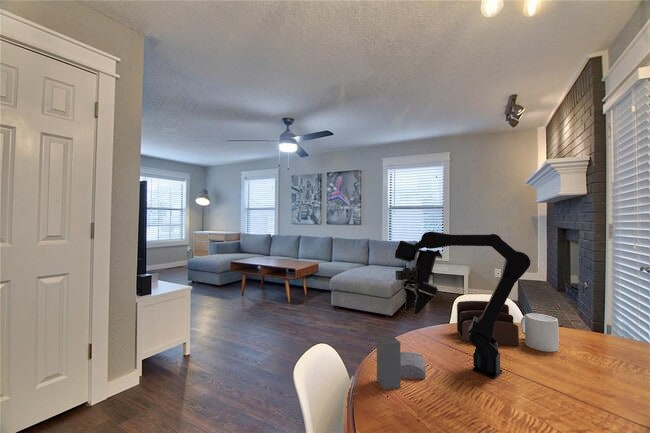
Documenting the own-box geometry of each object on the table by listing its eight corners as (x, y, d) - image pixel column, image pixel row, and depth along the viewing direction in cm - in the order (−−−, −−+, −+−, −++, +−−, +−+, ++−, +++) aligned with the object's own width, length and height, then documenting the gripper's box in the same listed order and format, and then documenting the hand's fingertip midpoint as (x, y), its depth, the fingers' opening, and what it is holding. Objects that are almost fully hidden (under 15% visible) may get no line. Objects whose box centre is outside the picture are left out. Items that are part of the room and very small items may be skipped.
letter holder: (456, 332, 123) (456, 299, 124) (508, 336, 119) (508, 301, 119) (462, 341, 113) (462, 305, 114) (519, 346, 109) (518, 308, 109)
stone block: (394, 383, 86) (429, 380, 85) (391, 367, 87) (425, 363, 85) (393, 366, 98) (423, 363, 96) (390, 351, 98) (420, 348, 97)
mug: (511, 338, 116) (510, 311, 116) (532, 336, 118) (531, 310, 119) (543, 353, 103) (542, 322, 103) (566, 350, 105) (565, 320, 105)
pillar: (392, 378, 86) (392, 335, 86) (400, 387, 81) (400, 342, 81) (376, 380, 85) (376, 337, 85) (383, 389, 80) (383, 343, 80)
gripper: (394, 259, 108) (381, 300, 106) (410, 257, 90) (395, 306, 87) (422, 270, 108) (410, 311, 105) (444, 270, 90) (430, 319, 87)
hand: (410, 311), depth 96 cm, fingers open, 9 cm apart
